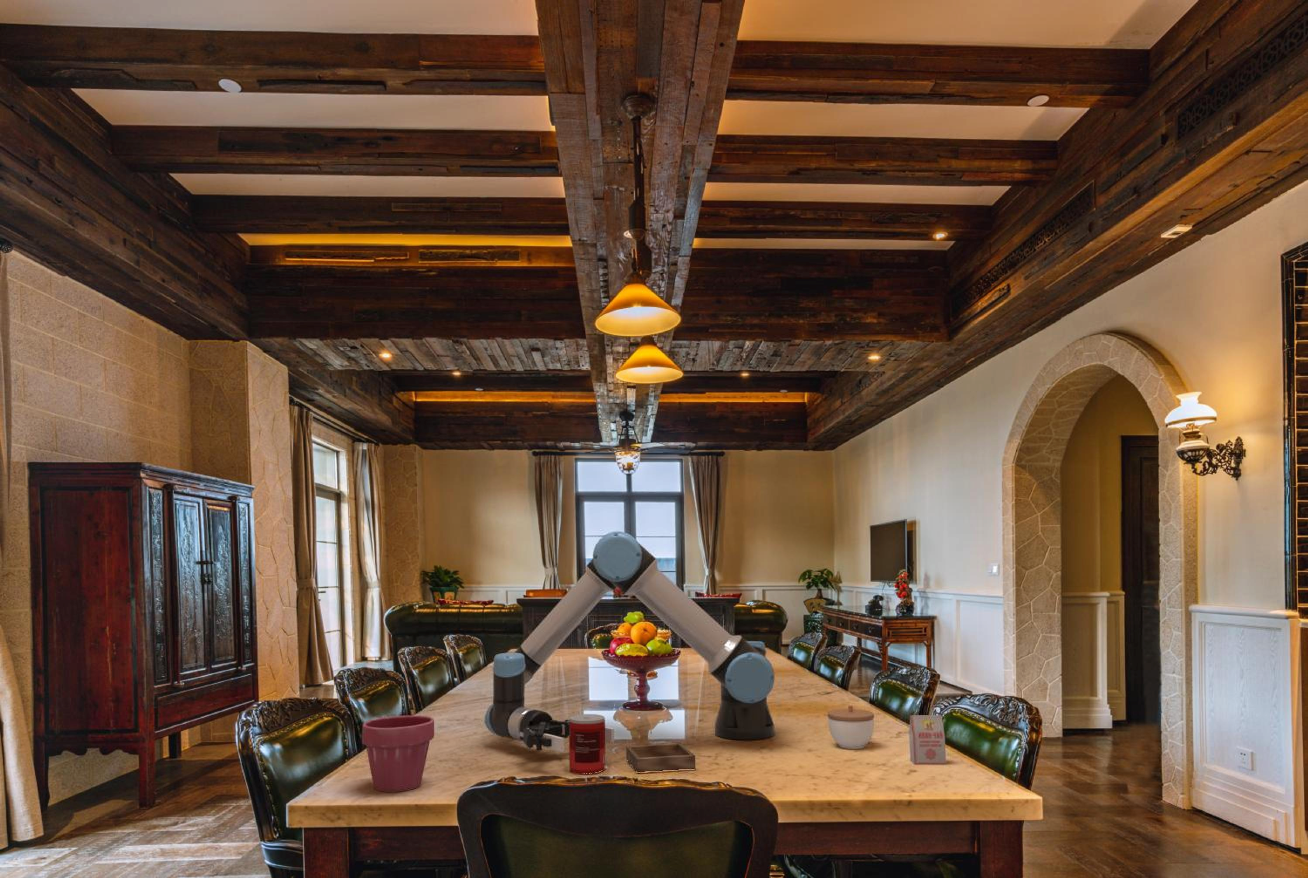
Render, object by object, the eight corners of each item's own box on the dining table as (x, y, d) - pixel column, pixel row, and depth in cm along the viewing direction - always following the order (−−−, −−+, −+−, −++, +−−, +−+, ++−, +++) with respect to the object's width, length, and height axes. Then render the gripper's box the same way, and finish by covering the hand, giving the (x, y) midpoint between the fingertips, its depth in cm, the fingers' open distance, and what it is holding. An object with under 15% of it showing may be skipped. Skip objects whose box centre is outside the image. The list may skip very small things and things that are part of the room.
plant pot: (370, 778, 184) (372, 715, 186) (438, 776, 185) (440, 713, 187) (352, 797, 170) (354, 728, 172) (426, 794, 171) (427, 726, 173)
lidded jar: (837, 739, 216) (836, 700, 217) (880, 744, 210) (879, 703, 212) (822, 748, 207) (821, 707, 208) (867, 753, 201) (865, 711, 202)
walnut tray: (680, 756, 200) (680, 743, 200) (695, 770, 188) (695, 755, 188) (626, 760, 197) (626, 746, 198) (637, 774, 185) (637, 759, 185)
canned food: (590, 763, 194) (590, 712, 196) (612, 770, 188) (612, 717, 190) (561, 769, 190) (562, 716, 191) (583, 776, 183) (583, 722, 185)
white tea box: (910, 760, 194) (908, 713, 195) (941, 760, 194) (939, 713, 195) (914, 764, 190) (912, 716, 192) (946, 764, 190) (943, 716, 191)
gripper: (574, 734, 212) (632, 748, 197) (484, 751, 196) (540, 768, 180) (574, 702, 213) (632, 714, 198) (485, 716, 197) (540, 730, 181)
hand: (588, 739), depth 189 cm, fingers open, 13 cm apart
